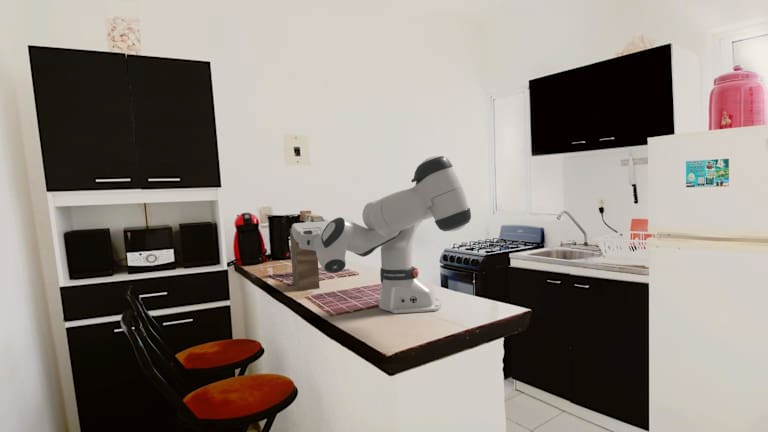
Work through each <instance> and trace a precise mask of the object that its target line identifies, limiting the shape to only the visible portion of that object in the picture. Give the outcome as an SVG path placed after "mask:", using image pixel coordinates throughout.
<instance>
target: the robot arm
mask: <svg viewBox="0 0 768 432" xmlns="http://www.w3.org/2000/svg"><path fill="white" fill-rule="evenodd" d="M414 182H415V185H414V186H412V187H409V188H408V189H407V188H406V189H404V190H400V191H397V192H396V191H395V192H393V193H391V194H388V195H386V196H383V197H381V198H380V199H376V200H373V201H371V202H370V201H369V202H367V203H366V204H365V206H364V208H363V210H362V212H361V213H362V214H361V215H362V220H363V224H364V225H365V226H363V225H361V224H358V223H355V222H353V221H351V220H348V219H346V218H343V217H341V216H340V217H336V218H334V219H332V220H328V219H327V218H325V217H324V216H323V215H322V216H321V218H322V221H321V222H313V218H312V217H309V218H308V222H297V223H293V224H291V229H292V234H293V237H294V239H295V240H296V242H298V243H299V247H300V248H301V249H308V250H313V251H316V255H317V258H318V264H319V265H320V266H321V268H322V269H323V270H324V271H325V272H327V273H329V274H330V273H331V274H336V273H340V272H342V271H343V270H344V269H345V268H346V264H347V263H346V253H347V251H348V252H351V253H353V254H355V255H358V256H359V257H363V258H365V257H367V256H369V255H371V254H372V253H373V252H374V251H375V250H377V249H378V248H380V260H381V261H380V262H381V267H380V271H379V273H380V274H379V276H380V283H381V288H380V289H381V291H380V299H379V303H378V308H380V309H381V310H383V311H388V312H390V313H392V314H407V313H408V314H409V313H423V312H424V313H425V312H436V311H438V310H440V309H441V308H442V303H441V302H442V301H441V299H439V298H437V297H436V295H435V291H434V290H433V288H432V286H431V284H429V283H427V282H426V281H425V280H423V279H422V278H420V277H419V269H418V267H415V266H413V252H412V250H413V241H414V237H415V234H416V232H417V229H418V227H419V226H420V225H421V223H423V222H424V221H425V220H427V219H430V218H433V219H434V223H435V225H436V226H437V228H438V229H439V230H440V231H443V232H456V231H459V230H461V229H463V228H464V227H465V226H467V224H468V223H470V221H471V218H472V214H471V208H470V207H469V205H468V201H467V198H466V194H465V191H464V188H463V187H462V184H461V182H460V180H459V178H458V176H457V174H456V172H455V171H454V168H453V164H452V163H451V161H450V160H449V158H448V157H446V156H443V155H441V156H431V157H428V158H426V159H425V160H423V161H422V162H421V163H419V165H418V166H417V167H416V169H415V171H414V175H413V178H412V179H411V183H414Z"/></svg>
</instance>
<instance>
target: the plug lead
mask: <svg viewBox="0 0 768 432" xmlns="http://www.w3.org/2000/svg"><path fill="white" fill-rule="evenodd" d="M309 217H312V218H313V222H321V221H322V218H321V217H322V216H321V215H317V214H313V213H312V210H300V211H299V218H300V221H301V222H305V223H307V222H308V218H309Z"/></svg>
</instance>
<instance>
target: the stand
mask: <svg viewBox="0 0 768 432" xmlns="http://www.w3.org/2000/svg"><path fill="white" fill-rule="evenodd" d="M289 237H290V238H289V239H290V241H289V242H290V259H291V258H292V260H291V272H292V284H293V285H294V287H295V288H296V289H297V291H298V292H301V291H309V290H310V291H311V290H316V289H317V290H318V289H320V272H319V270H320V269H319V261H318V258H317V255H316V251H313V250H308V249H301V248H300V247H299V243H298V242H296V240H295V239H294V237H293V234H292V228H289Z"/></svg>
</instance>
